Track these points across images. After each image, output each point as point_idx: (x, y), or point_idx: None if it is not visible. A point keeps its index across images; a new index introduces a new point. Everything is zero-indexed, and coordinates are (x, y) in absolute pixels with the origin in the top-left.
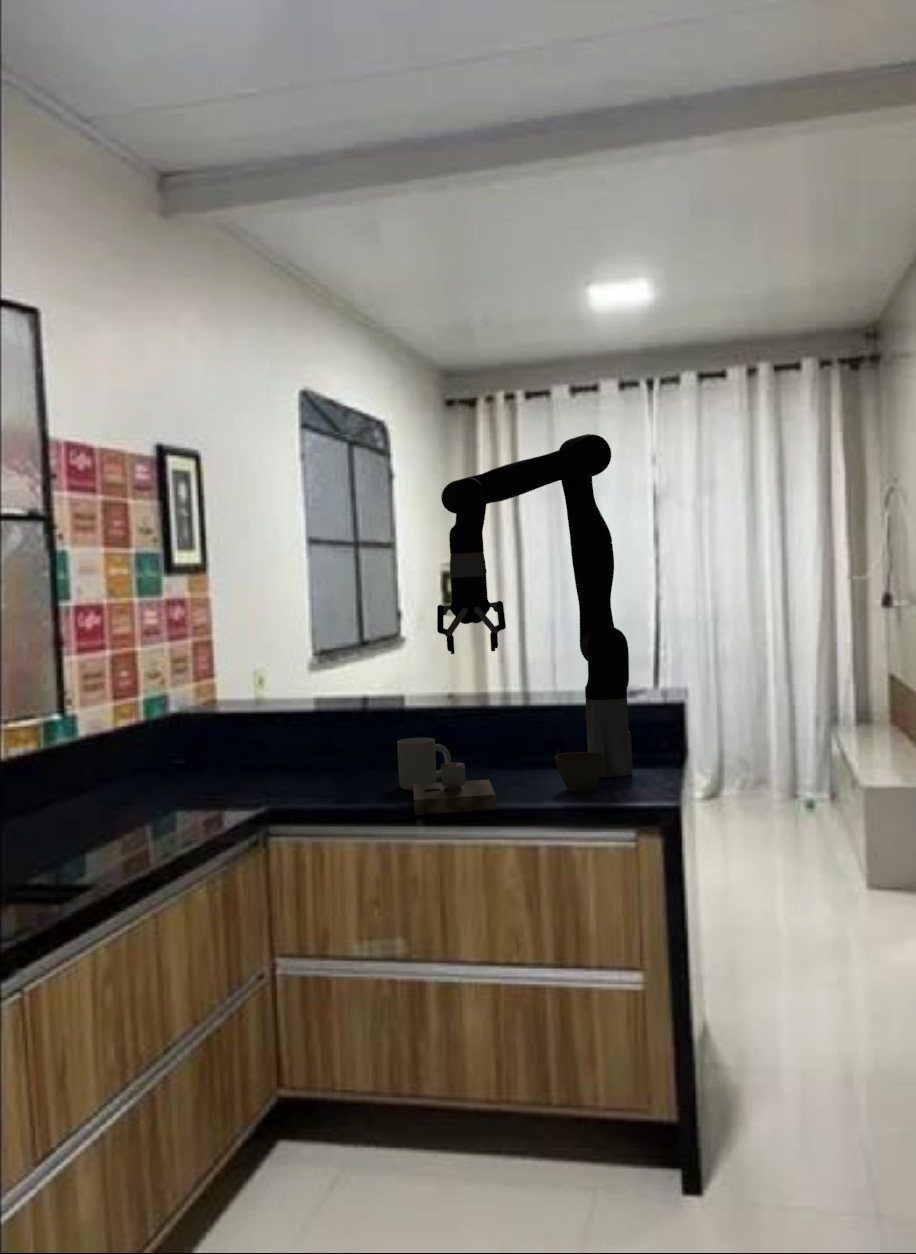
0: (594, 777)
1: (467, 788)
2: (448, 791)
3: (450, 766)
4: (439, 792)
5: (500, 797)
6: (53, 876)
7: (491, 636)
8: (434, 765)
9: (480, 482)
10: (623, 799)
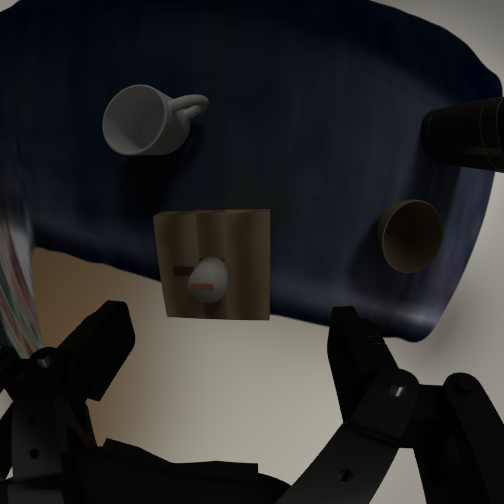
0: (412, 252)
1: (233, 272)
2: None
3: (203, 298)
4: None
5: (282, 238)
6: None
7: (342, 409)
8: (179, 133)
9: None
10: (415, 292)
